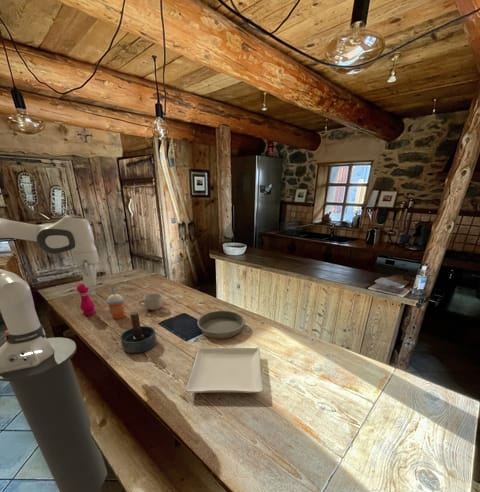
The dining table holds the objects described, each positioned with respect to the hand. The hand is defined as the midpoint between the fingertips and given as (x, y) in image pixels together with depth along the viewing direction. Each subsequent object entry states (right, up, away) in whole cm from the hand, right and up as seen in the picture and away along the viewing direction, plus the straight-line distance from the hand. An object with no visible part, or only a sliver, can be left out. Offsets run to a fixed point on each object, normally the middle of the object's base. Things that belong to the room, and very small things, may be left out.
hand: (94, 290), depth 111 cm
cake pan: (+51, -18, +29) cm, 62 cm away
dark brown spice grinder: (+13, -24, +15) cm, 31 cm away
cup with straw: (-9, -13, +43) cm, 46 cm away
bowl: (+13, -25, +15) cm, 32 cm away
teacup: (+7, -9, +52) cm, 53 cm away
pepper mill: (-29, -11, +47) cm, 56 cm away
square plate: (+56, -34, -5) cm, 65 cm away
